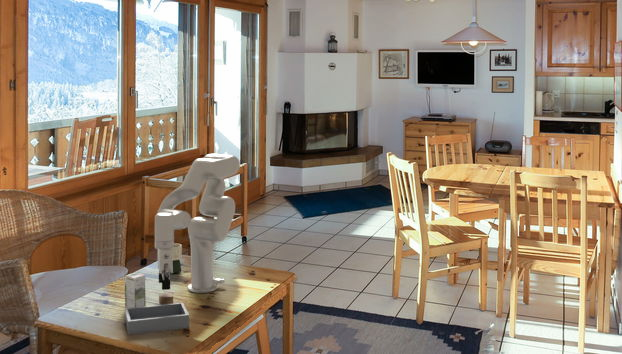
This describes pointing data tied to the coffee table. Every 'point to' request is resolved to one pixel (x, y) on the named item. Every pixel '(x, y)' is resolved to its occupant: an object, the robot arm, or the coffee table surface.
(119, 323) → the coffee table surface
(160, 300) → the walnut cube
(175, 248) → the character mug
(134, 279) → the syrup box
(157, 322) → the tote
